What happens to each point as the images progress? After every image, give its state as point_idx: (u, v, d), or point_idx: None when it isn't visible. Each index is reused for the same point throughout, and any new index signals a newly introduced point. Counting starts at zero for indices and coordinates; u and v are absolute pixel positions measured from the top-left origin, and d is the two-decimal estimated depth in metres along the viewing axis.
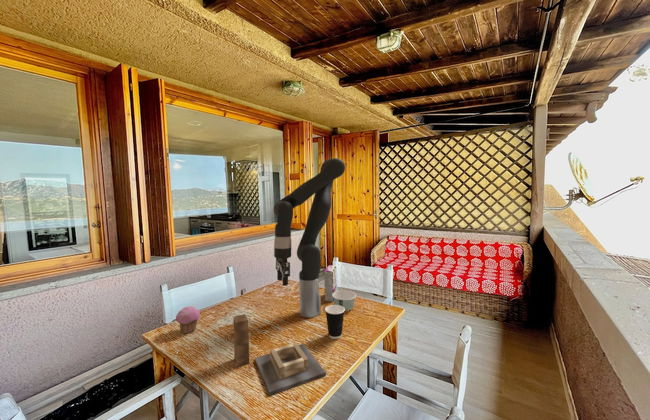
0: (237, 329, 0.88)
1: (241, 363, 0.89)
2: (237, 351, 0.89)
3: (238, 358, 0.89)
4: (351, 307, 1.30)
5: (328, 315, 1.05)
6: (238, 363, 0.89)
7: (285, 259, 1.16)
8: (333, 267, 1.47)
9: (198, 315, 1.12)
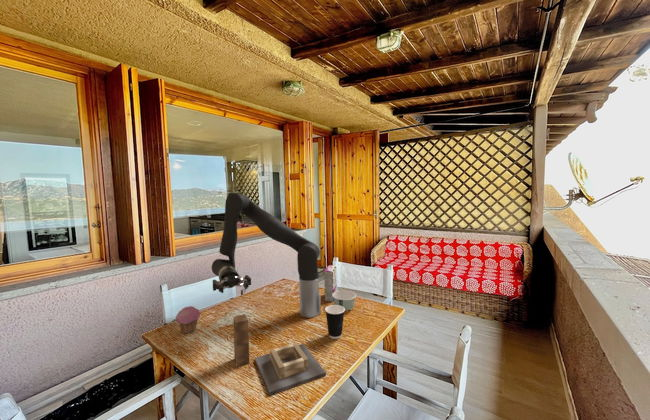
0: (237, 329, 0.88)
1: (241, 363, 0.89)
2: (237, 351, 0.89)
3: (238, 358, 0.89)
4: (351, 307, 1.30)
5: (328, 315, 1.05)
6: (238, 363, 0.89)
7: (220, 280, 1.09)
8: (333, 267, 1.47)
9: (198, 315, 1.12)
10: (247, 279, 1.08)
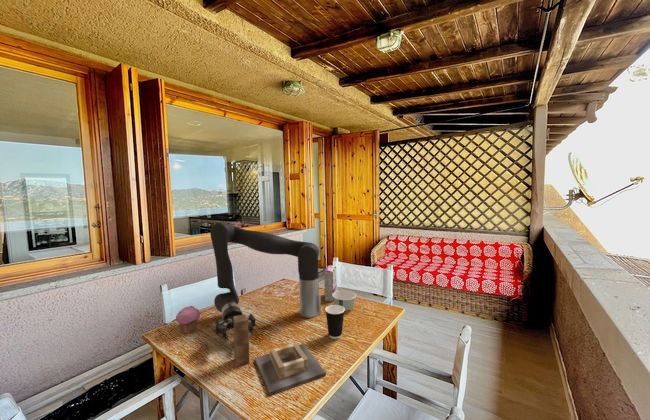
0: (237, 329, 0.88)
1: (241, 363, 0.89)
2: (237, 351, 0.89)
3: (238, 358, 0.89)
4: (351, 307, 1.30)
5: (328, 315, 1.05)
6: (238, 363, 0.89)
7: None
8: (333, 267, 1.47)
9: (198, 315, 1.12)
10: (251, 320, 1.04)
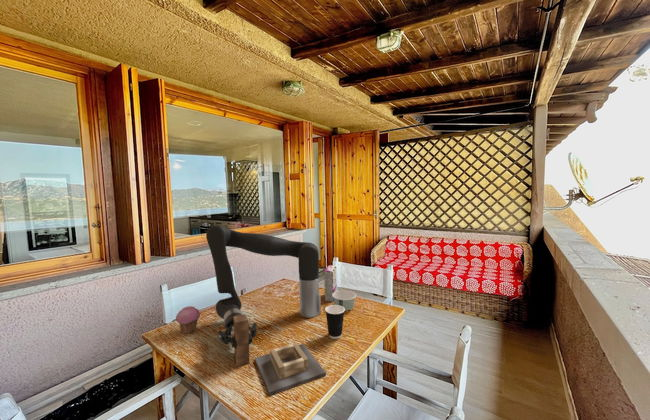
0: (237, 329, 0.88)
1: (241, 363, 0.89)
2: (237, 351, 0.89)
3: (238, 358, 0.89)
4: (351, 307, 1.30)
5: (328, 315, 1.05)
6: (238, 363, 0.89)
7: (226, 329, 0.98)
8: (333, 267, 1.47)
9: (198, 315, 1.12)
10: None
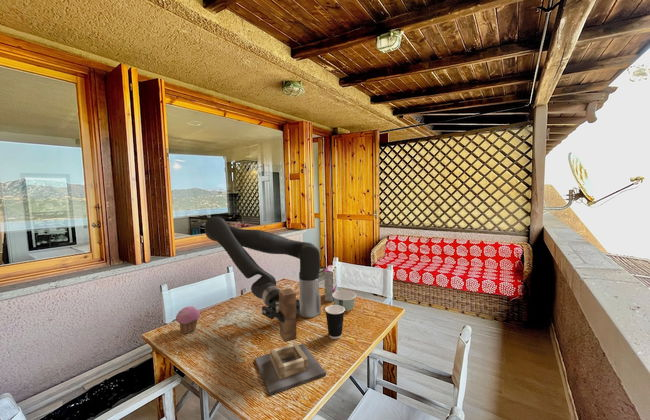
0: (285, 302, 0.84)
1: (288, 339, 0.85)
2: (285, 326, 0.84)
3: (286, 333, 0.84)
4: (351, 307, 1.30)
5: (328, 315, 1.05)
6: (286, 338, 0.84)
7: None
8: (333, 267, 1.47)
9: (198, 315, 1.12)
10: (296, 305, 0.92)
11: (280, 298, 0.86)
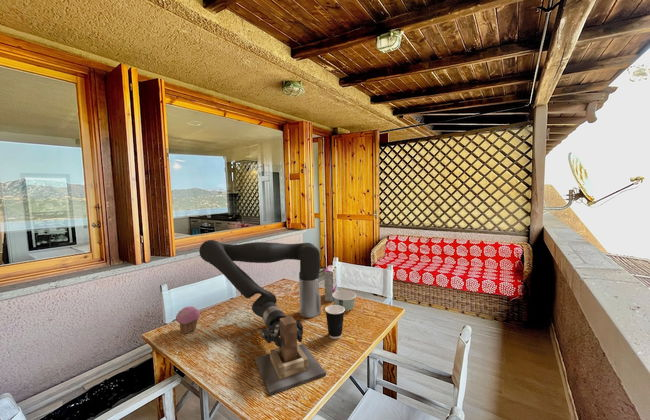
0: (286, 332, 0.84)
1: None
2: (286, 355, 0.85)
3: None
4: (351, 307, 1.30)
5: (328, 315, 1.05)
6: None
7: (269, 327, 0.94)
8: (333, 267, 1.47)
9: (198, 315, 1.12)
10: (298, 327, 0.93)
11: (281, 326, 0.87)
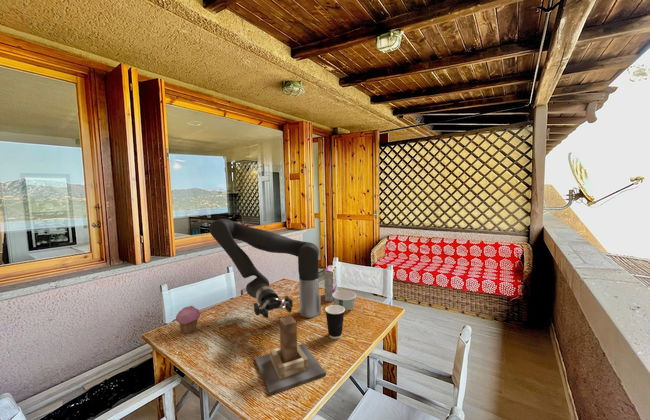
0: (286, 332, 0.84)
1: None
2: (286, 355, 0.85)
3: None
4: (351, 307, 1.30)
5: (328, 315, 1.05)
6: None
7: (260, 303, 1.05)
8: (333, 267, 1.47)
9: (198, 315, 1.12)
10: (288, 301, 1.05)
11: (281, 326, 0.87)
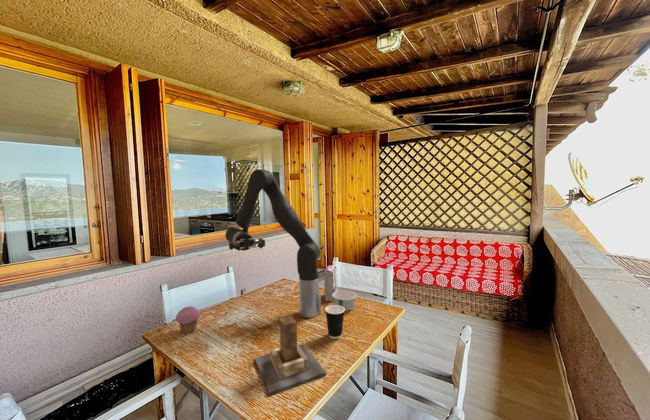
0: (286, 332, 0.84)
1: None
2: (286, 355, 0.85)
3: None
4: (351, 307, 1.30)
5: (328, 315, 1.05)
6: None
7: (236, 242, 1.14)
8: (333, 267, 1.47)
9: (198, 315, 1.12)
10: (261, 241, 1.14)
11: (281, 326, 0.87)
